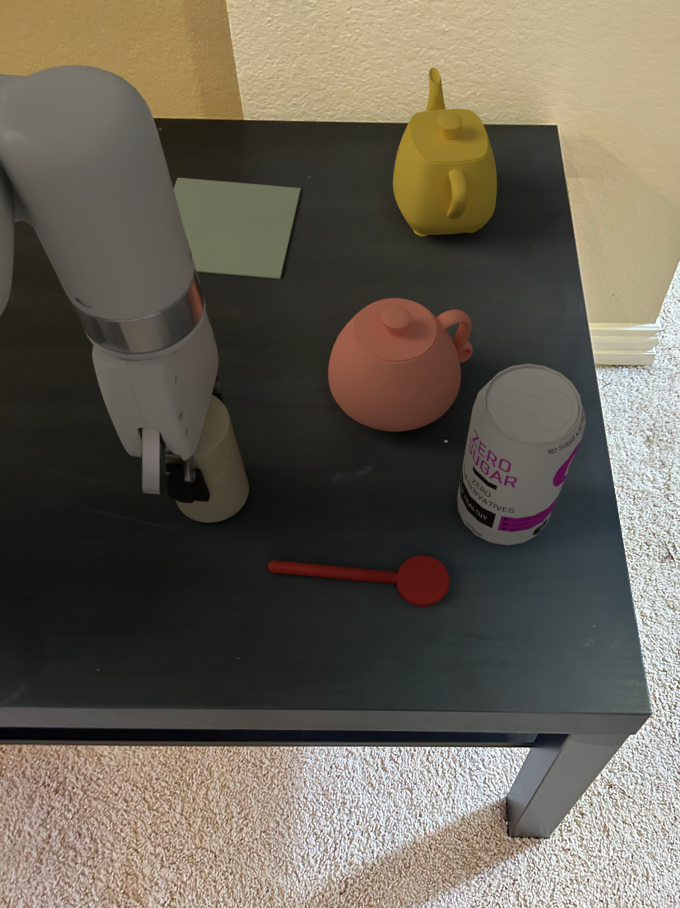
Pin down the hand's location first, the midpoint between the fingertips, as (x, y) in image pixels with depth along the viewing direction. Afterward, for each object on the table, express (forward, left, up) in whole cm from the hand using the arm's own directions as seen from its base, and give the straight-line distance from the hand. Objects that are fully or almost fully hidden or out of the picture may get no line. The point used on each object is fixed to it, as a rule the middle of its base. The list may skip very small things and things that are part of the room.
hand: (200, 458), depth 61 cm
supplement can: (+26, +1, -6) cm, 26 cm away
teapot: (+18, +39, -6) cm, 43 cm away
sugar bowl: (+16, +13, -6) cm, 21 cm away
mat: (-5, +33, -6) cm, 34 cm away
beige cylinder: (0, 0, -5) cm, 5 cm away
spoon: (+14, -7, -6) cm, 16 cm away
